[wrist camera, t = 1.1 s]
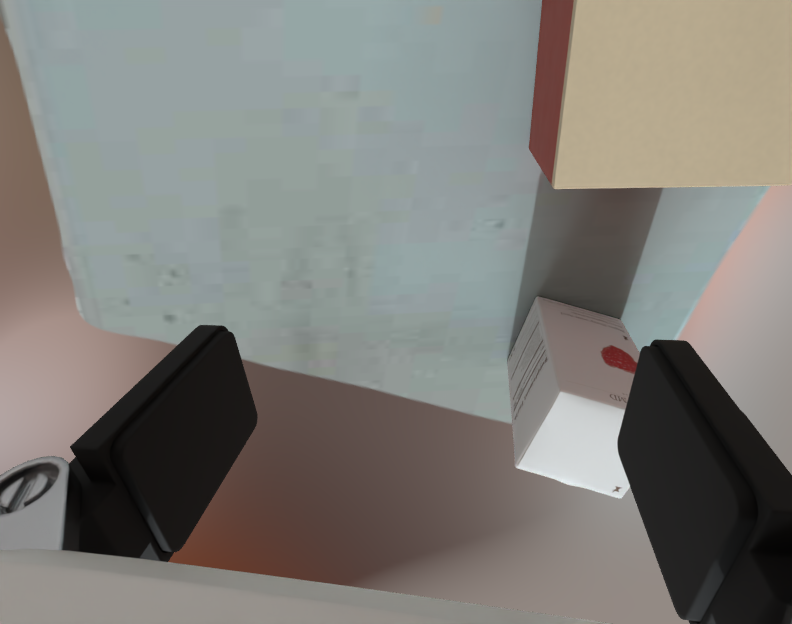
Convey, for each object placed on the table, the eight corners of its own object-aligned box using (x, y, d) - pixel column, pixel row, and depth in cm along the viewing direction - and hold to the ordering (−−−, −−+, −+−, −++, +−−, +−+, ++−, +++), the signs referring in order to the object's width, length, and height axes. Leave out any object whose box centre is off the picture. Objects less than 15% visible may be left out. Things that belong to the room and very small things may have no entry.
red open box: (555, -146, 28) (607, -289, 17) (823, -184, 25) (1097, -382, 14) (528, 149, 36) (551, 185, 25) (725, 143, 34) (846, 180, 23)
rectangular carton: (624, 317, 43) (687, 426, 30) (583, 384, 47) (623, 503, 34) (535, 292, 43) (560, 389, 30) (503, 361, 47) (513, 471, 35)
